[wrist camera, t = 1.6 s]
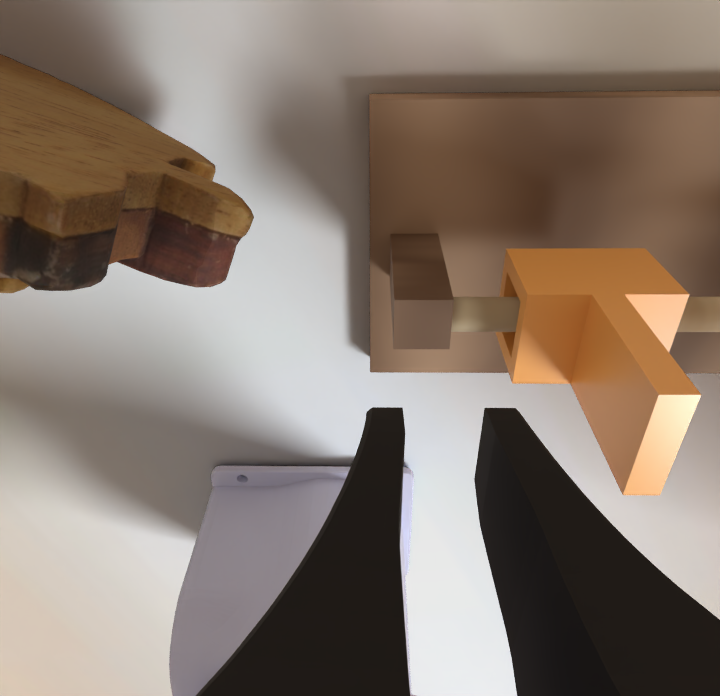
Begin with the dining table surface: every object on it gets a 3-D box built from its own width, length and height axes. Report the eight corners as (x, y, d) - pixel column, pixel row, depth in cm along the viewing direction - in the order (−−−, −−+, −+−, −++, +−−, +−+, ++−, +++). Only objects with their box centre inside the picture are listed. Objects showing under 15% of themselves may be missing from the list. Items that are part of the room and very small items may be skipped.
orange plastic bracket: (494, 329, 18) (548, 494, 12) (506, 248, 16) (574, 394, 11) (621, 330, 18) (734, 495, 12) (645, 248, 16) (786, 394, 11)
